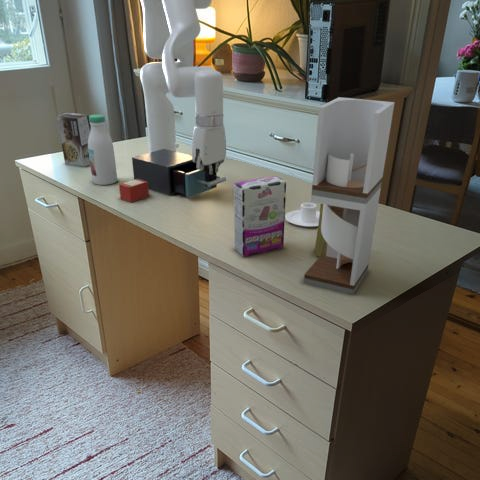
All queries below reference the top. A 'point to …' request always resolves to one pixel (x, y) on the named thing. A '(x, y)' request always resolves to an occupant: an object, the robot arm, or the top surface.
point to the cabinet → (158, 168)
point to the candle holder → (304, 215)
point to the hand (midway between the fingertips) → (210, 186)
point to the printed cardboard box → (74, 138)
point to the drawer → (191, 180)
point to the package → (133, 190)
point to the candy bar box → (259, 215)
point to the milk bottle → (101, 152)
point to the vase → (320, 238)
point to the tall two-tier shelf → (348, 187)
